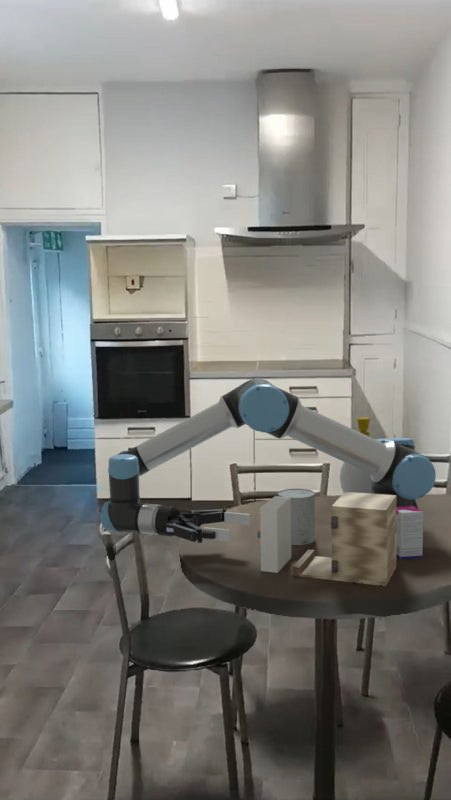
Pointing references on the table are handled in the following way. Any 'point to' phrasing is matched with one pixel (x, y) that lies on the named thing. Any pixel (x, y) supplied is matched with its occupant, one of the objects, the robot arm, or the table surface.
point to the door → (275, 533)
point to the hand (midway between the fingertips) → (240, 527)
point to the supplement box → (409, 532)
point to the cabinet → (357, 542)
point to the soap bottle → (356, 469)
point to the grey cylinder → (301, 515)
